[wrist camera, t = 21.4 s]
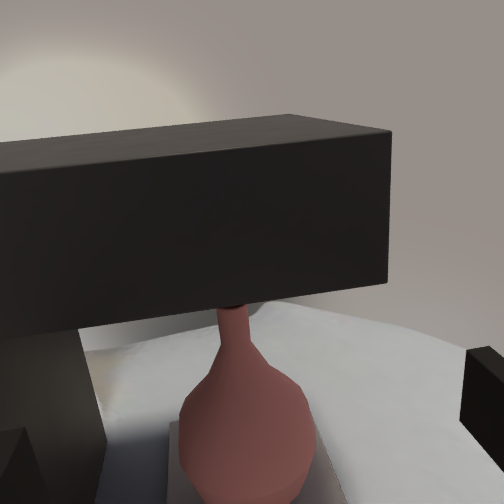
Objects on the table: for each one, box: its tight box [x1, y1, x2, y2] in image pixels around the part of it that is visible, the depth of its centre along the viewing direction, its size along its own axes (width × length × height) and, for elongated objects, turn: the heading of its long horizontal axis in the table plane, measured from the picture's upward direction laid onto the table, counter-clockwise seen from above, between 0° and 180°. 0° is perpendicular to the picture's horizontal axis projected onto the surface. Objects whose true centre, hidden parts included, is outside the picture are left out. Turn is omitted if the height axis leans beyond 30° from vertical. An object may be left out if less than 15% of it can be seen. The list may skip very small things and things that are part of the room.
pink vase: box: [178, 304, 316, 504], centre depth 23 cm, size 8×8×12 cm
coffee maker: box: [0, 114, 392, 504], centre depth 21 cm, size 17×13×21 cm
